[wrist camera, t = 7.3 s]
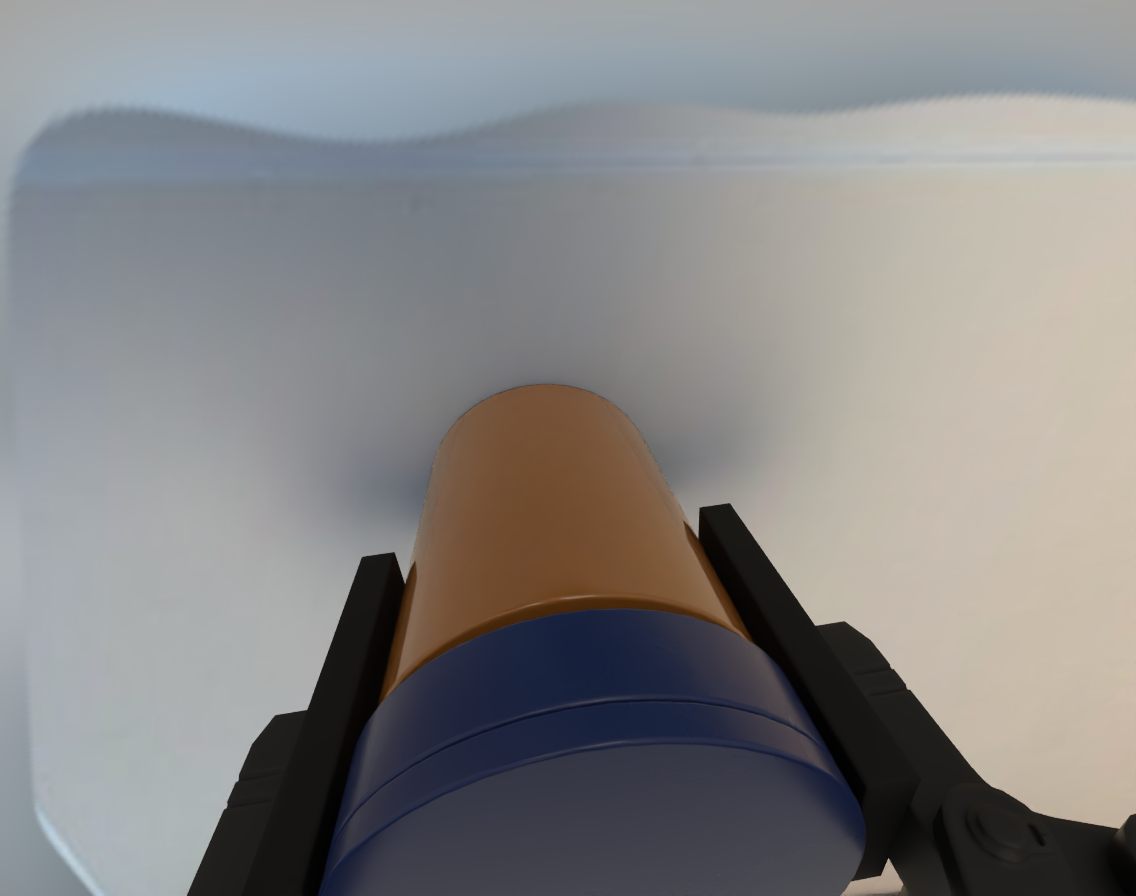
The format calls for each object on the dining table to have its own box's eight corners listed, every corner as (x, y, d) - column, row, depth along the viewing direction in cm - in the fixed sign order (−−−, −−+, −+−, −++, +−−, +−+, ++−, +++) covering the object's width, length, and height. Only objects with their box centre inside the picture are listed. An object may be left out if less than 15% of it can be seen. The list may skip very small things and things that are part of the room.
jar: (381, 474, 16) (229, 863, 7) (568, 334, 14) (680, 594, 5) (524, 602, 19) (547, 983, 10) (689, 498, 17) (884, 831, 9)
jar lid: (753, 855, 11) (799, 980, 9) (390, 905, 10) (369, 1051, 8) (846, 586, 7) (950, 707, 6) (301, 630, 7) (233, 785, 5)
